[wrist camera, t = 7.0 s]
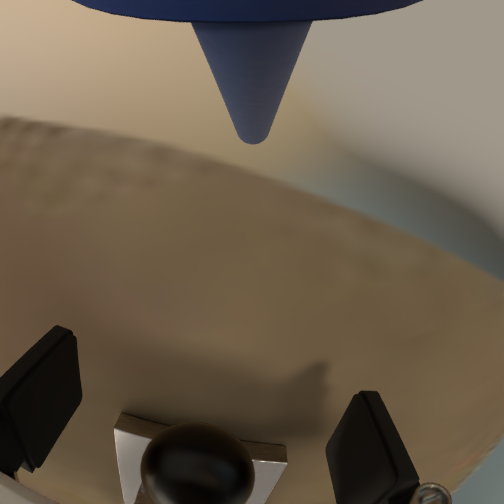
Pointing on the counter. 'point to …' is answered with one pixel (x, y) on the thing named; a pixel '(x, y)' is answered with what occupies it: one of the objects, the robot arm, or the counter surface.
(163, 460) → the lever
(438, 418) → the counter surface
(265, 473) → the bracket
